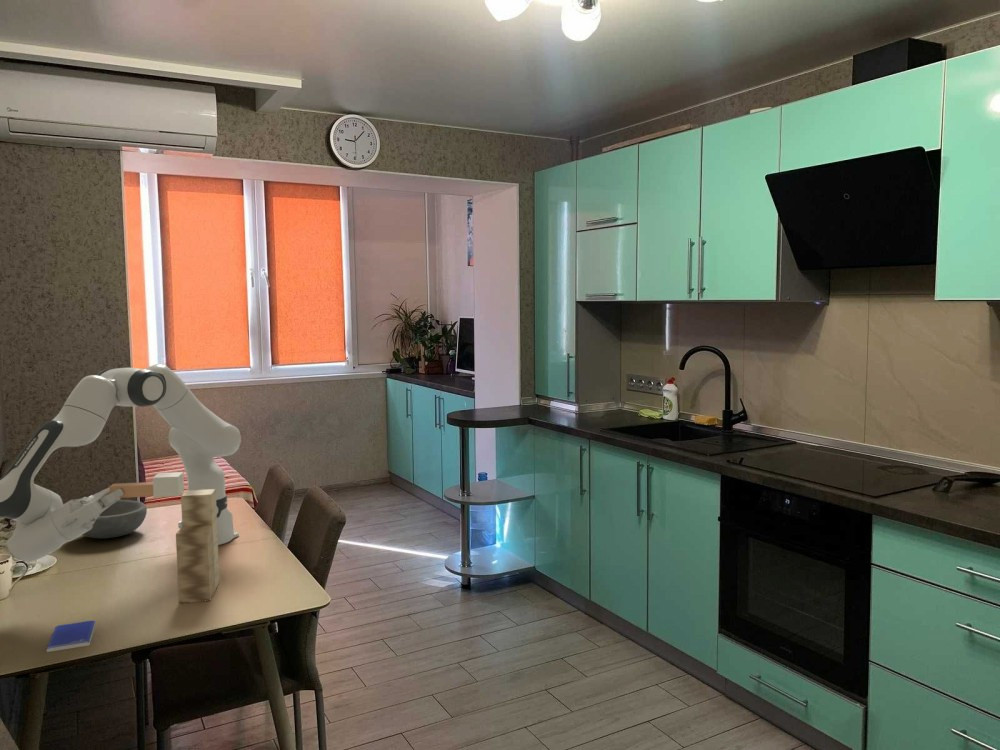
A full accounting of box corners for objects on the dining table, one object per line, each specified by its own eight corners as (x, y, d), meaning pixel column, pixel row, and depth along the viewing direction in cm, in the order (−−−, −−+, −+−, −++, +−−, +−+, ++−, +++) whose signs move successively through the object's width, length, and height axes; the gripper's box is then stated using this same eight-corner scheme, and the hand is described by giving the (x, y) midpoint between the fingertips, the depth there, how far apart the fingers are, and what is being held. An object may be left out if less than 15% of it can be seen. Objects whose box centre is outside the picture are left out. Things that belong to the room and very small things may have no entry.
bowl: (115, 549, 233) (113, 518, 232) (53, 545, 237) (51, 514, 236) (162, 528, 255) (161, 499, 254) (105, 524, 259) (103, 496, 259)
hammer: (184, 491, 193) (183, 472, 192) (178, 496, 187) (178, 476, 187) (115, 494, 190) (114, 474, 189) (108, 499, 184) (107, 479, 184)
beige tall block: (178, 603, 189) (174, 502, 187) (190, 584, 202) (186, 490, 200) (210, 600, 191) (206, 501, 188) (219, 582, 203) (215, 489, 201)
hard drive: (89, 640, 166) (95, 619, 177) (46, 647, 162) (55, 625, 174) (89, 647, 166) (95, 626, 177) (46, 654, 163) (55, 632, 174)
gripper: (50, 519, 175) (104, 487, 177) (82, 497, 195) (130, 469, 197) (66, 541, 176) (119, 509, 178) (96, 517, 196) (144, 489, 198)
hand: (125, 488), depth 188 cm, fingers closed on hammer, 3 cm apart
